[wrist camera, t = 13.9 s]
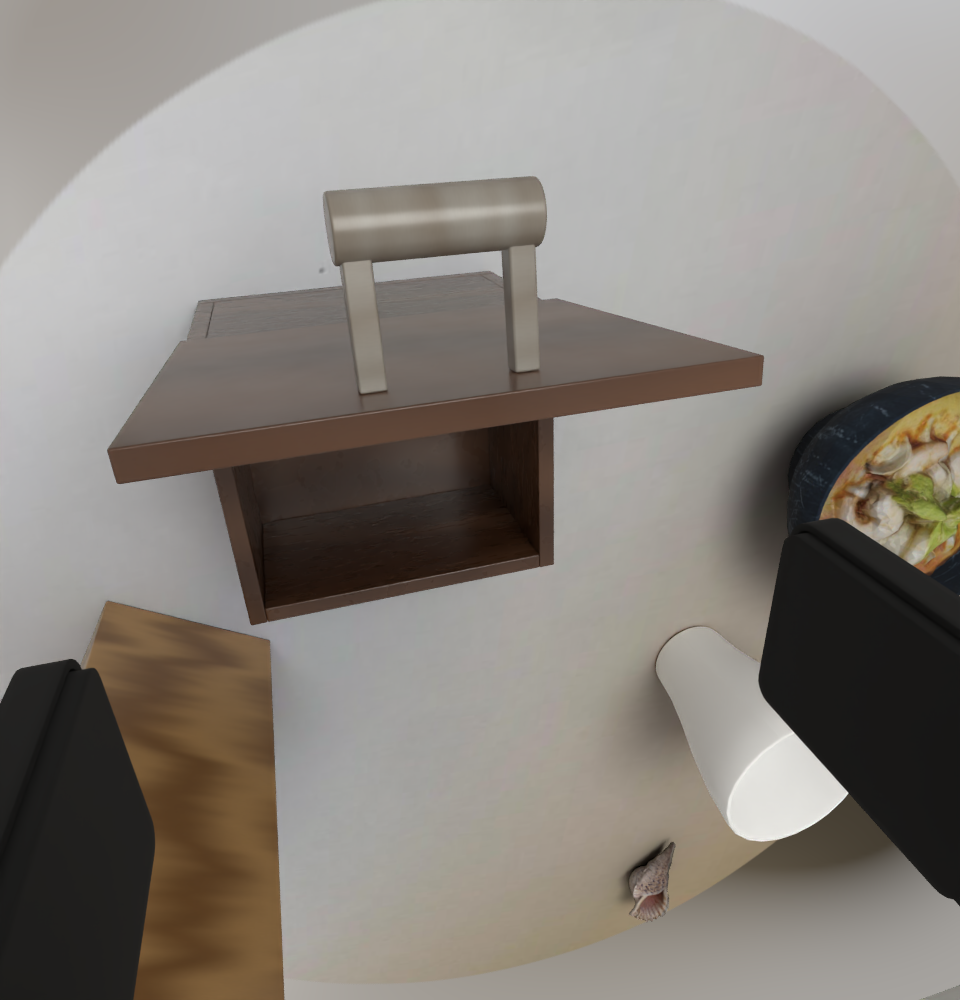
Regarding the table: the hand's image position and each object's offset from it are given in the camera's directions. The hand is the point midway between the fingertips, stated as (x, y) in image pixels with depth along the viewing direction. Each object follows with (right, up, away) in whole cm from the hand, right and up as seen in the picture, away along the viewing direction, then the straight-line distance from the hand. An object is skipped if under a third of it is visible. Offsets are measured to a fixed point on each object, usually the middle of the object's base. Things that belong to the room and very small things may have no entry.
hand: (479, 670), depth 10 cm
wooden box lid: (-2, +6, +13) cm, 15 cm away
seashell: (+16, -34, +60) cm, 71 cm away
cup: (+17, -10, +49) cm, 53 cm away
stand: (-20, -9, +36) cm, 42 cm away
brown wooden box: (-7, +8, +32) cm, 33 cm away
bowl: (+27, +5, +44) cm, 52 cm away
